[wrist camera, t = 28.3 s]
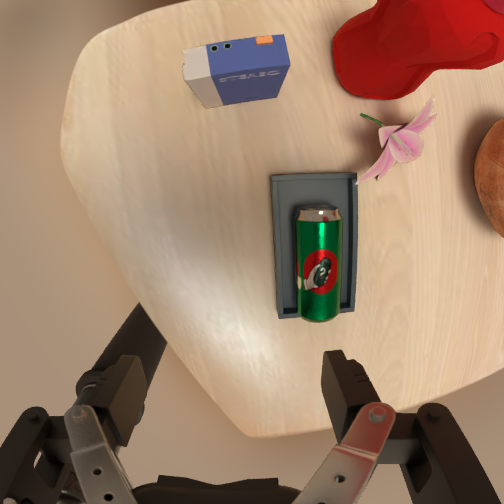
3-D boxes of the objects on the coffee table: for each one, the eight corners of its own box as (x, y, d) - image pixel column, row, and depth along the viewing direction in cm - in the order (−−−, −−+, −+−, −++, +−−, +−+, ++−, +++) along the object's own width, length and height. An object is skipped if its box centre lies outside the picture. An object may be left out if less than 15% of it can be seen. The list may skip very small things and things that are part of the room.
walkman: (272, 75, 29) (284, 31, 18) (276, 97, 30) (291, 63, 19) (201, 86, 30) (177, 48, 18) (205, 109, 30) (182, 80, 19)
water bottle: (418, 105, 30) (586, 73, 6) (335, 99, 30) (485, 7, 6) (406, 39, 27) (541, -39, 3) (325, 29, 27) (420, -110, 3)
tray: (349, 304, 37) (354, 311, 35) (277, 311, 37) (278, 319, 35) (350, 172, 32) (357, 172, 30) (270, 174, 32) (271, 175, 30)
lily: (321, 179, 34) (377, 220, 27) (320, 77, 26) (389, 93, 19) (393, 162, 37) (447, 194, 29) (399, 77, 29) (463, 97, 22)
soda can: (348, 314, 33) (352, 207, 30) (316, 330, 30) (317, 213, 27) (318, 300, 37) (318, 202, 34) (286, 313, 34) (283, 208, 31)
